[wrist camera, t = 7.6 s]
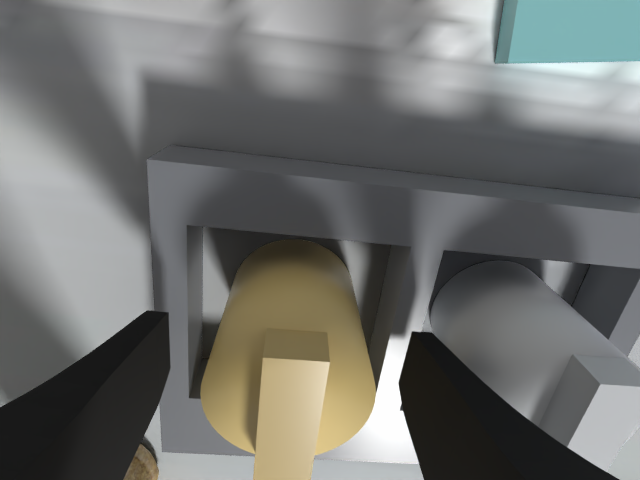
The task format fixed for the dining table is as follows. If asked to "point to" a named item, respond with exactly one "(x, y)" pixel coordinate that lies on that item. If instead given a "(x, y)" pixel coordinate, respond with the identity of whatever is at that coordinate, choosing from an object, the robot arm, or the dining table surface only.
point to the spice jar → (142, 466)
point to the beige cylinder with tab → (289, 360)
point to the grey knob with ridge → (540, 357)
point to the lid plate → (569, 31)
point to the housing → (402, 268)
